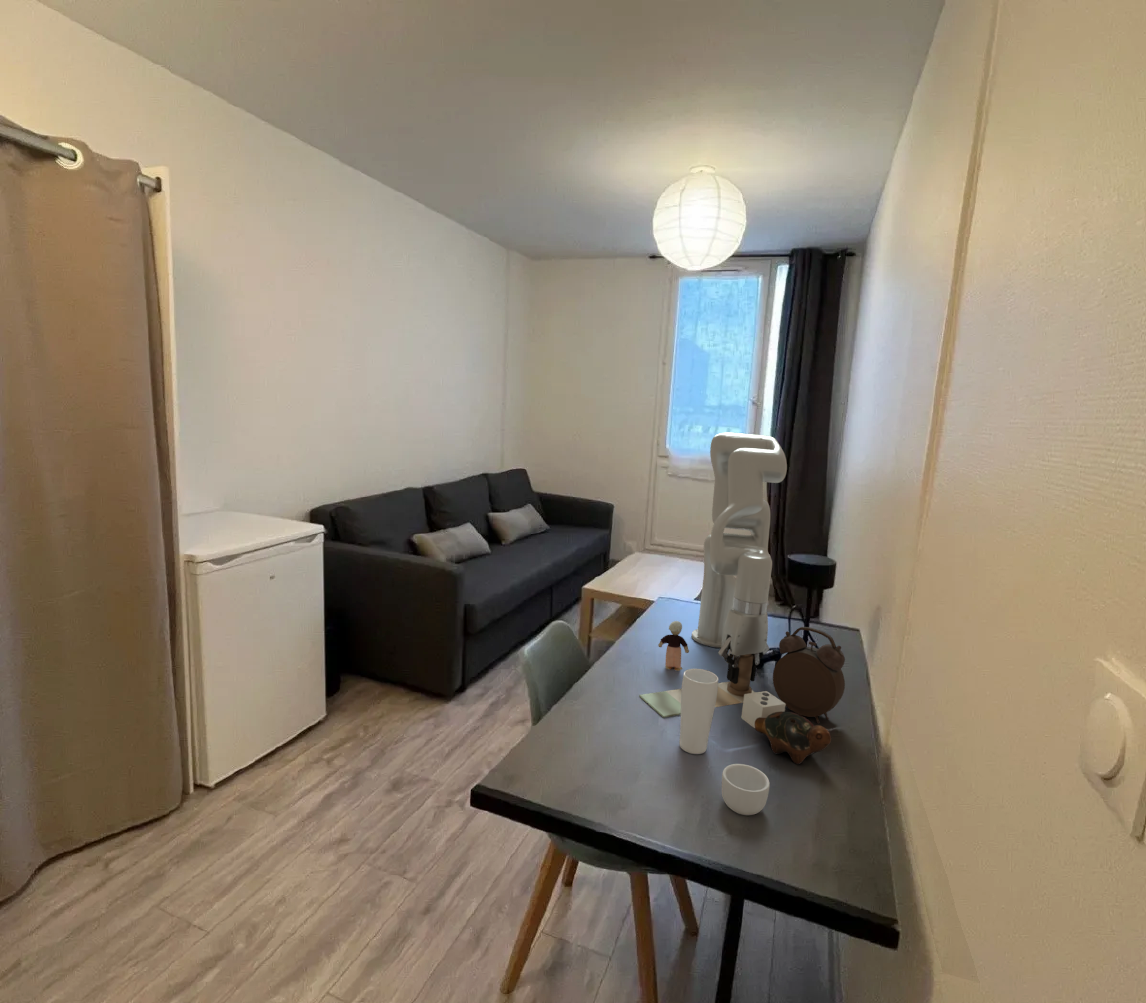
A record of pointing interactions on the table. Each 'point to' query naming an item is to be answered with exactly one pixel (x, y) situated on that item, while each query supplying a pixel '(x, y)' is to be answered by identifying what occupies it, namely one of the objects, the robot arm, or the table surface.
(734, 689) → the pawn
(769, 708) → the die
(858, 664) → the table surface
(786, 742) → the decorative turtle
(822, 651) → the alarm clock
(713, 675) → the drinking glass
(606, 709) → the table surface
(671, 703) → the track board
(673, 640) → the grandmother figurine
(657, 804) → the table surface
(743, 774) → the teacup
